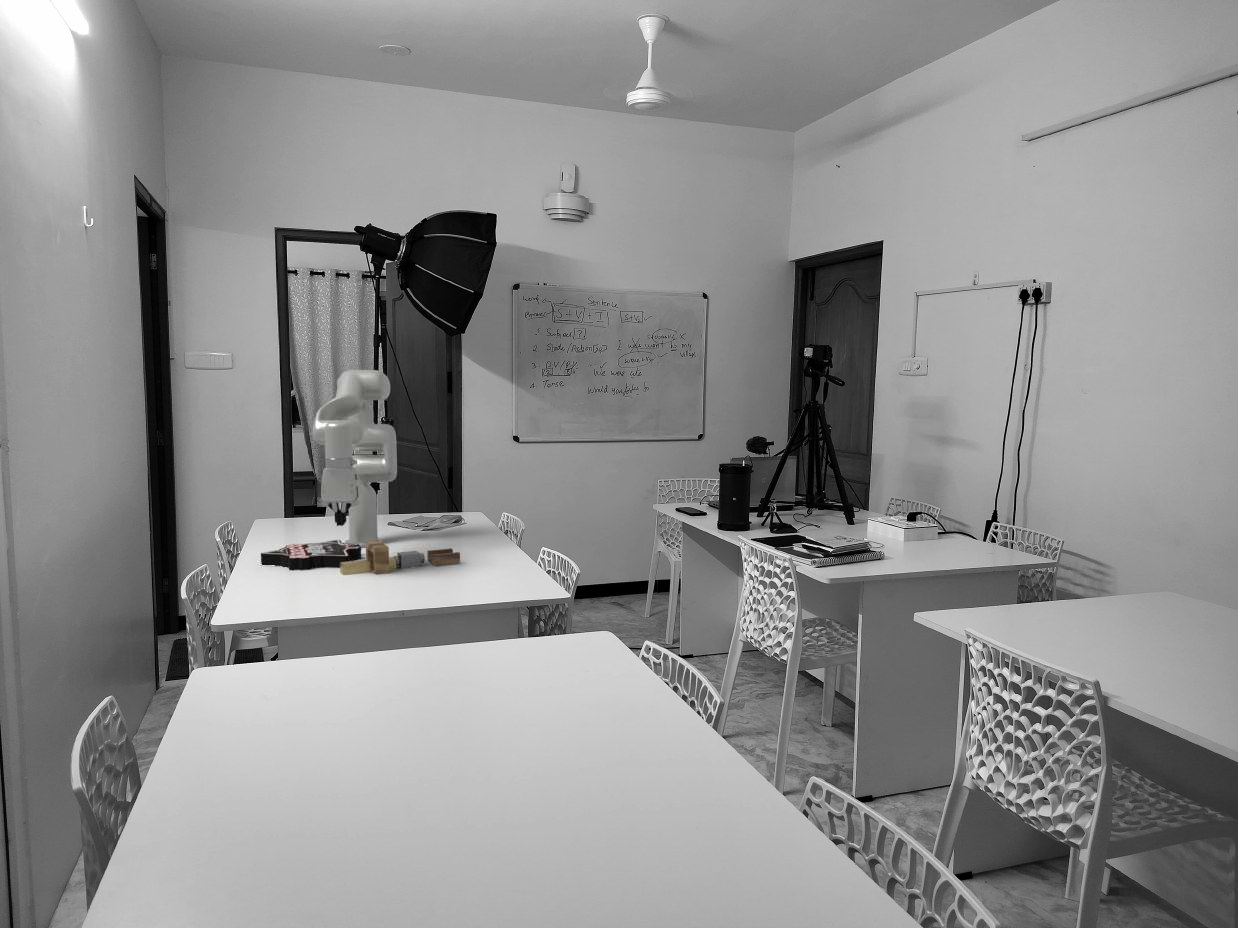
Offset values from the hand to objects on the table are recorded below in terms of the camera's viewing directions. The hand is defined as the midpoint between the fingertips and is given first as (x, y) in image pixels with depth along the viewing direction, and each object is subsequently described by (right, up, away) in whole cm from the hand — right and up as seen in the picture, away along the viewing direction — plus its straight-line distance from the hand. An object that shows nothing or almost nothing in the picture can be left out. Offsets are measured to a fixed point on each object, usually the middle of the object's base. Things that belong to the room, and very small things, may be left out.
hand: (340, 524), depth 242 cm
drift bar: (+7, -15, +5) cm, 17 cm away
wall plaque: (-15, -14, +18) cm, 27 cm away
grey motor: (+17, -14, +12) cm, 25 cm away
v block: (+27, -13, +18) cm, 35 cm away
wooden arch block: (+9, -14, +7) cm, 18 cm away
